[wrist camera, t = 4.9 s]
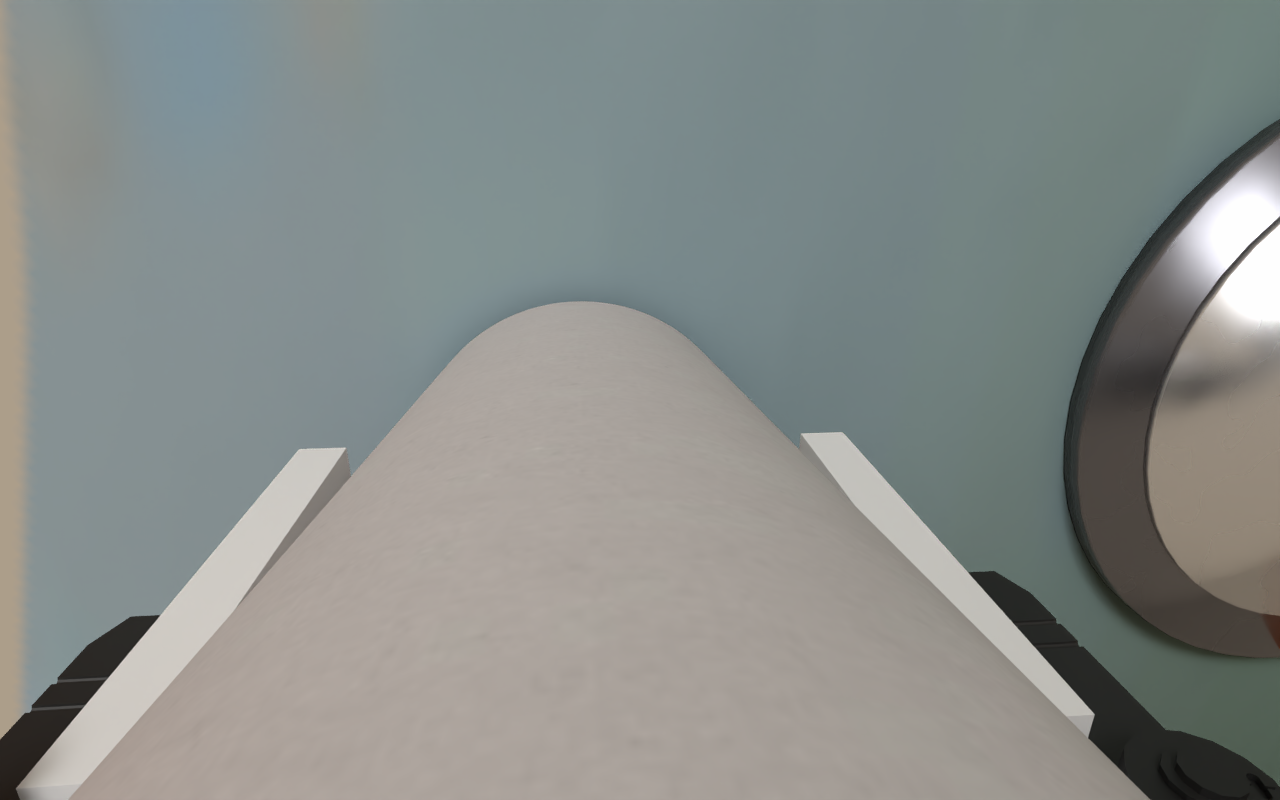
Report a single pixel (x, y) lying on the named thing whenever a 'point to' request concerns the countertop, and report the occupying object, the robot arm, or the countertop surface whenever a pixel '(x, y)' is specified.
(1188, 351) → the plate
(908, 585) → the coffee cup
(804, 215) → the countertop surface
